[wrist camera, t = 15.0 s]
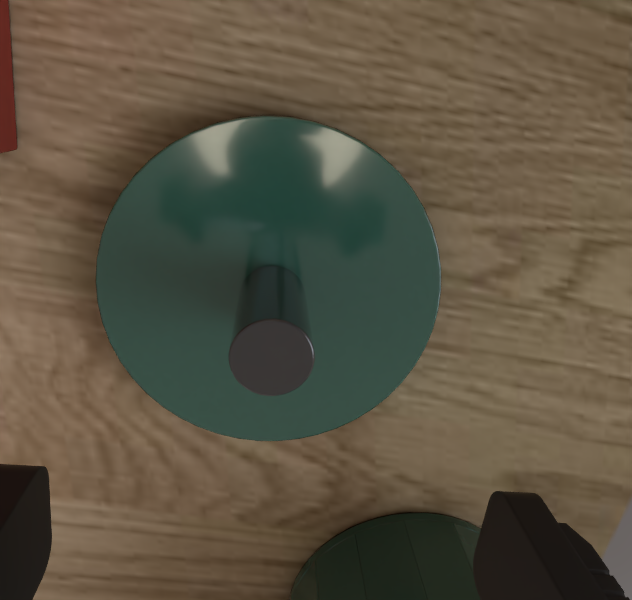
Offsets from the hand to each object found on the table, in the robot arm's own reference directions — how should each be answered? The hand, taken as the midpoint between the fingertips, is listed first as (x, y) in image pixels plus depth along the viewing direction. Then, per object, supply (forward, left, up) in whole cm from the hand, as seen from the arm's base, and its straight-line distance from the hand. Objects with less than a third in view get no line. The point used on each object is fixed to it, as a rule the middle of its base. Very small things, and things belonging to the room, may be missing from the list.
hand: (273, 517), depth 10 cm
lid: (0, 0, -11) cm, 11 cm away
